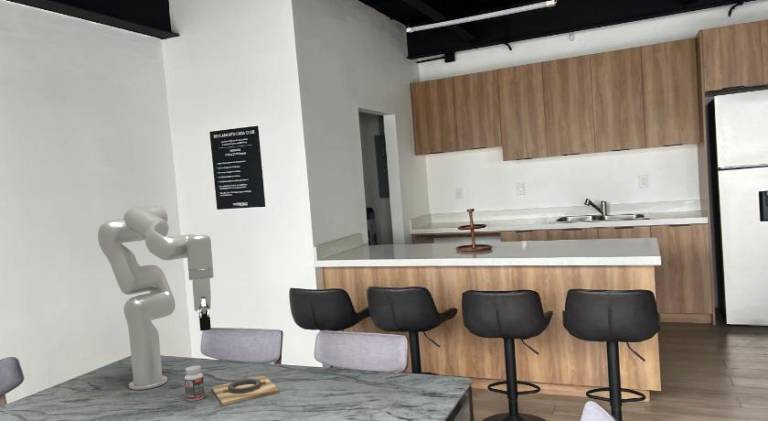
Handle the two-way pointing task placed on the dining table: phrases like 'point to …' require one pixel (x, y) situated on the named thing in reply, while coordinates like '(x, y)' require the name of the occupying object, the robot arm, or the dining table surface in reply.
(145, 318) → the robot arm
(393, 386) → the dining table surface
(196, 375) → the pill bottle
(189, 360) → the dining table surface
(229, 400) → the socket board
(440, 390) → the dining table surface
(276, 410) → the dining table surface
